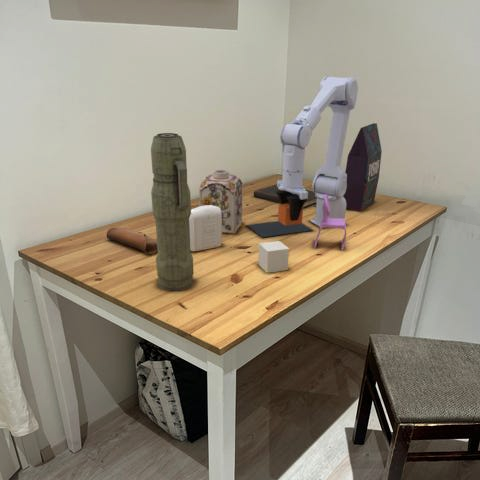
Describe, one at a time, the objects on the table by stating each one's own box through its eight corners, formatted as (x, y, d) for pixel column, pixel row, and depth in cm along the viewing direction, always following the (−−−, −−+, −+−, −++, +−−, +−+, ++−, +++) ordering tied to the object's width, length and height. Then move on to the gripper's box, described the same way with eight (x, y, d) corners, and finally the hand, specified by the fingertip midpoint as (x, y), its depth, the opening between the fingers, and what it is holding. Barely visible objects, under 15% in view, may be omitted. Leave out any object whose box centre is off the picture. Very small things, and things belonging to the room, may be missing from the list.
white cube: (278, 261, 134) (279, 240, 131) (287, 269, 129) (289, 248, 126) (258, 264, 132) (258, 243, 129) (266, 272, 127) (267, 251, 124)
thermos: (176, 296, 115) (168, 140, 97) (147, 280, 122) (134, 133, 104) (205, 285, 120) (201, 136, 103) (175, 271, 127) (167, 129, 110)
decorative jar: (208, 220, 164) (207, 165, 155) (242, 222, 162) (243, 167, 153) (199, 231, 154) (197, 174, 145) (235, 234, 152) (235, 176, 143)
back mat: (294, 220, 165) (294, 218, 165) (312, 231, 156) (312, 229, 156) (246, 226, 159) (246, 225, 159) (262, 238, 150) (262, 236, 149)
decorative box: (375, 201, 186) (387, 123, 172) (361, 212, 174) (373, 129, 160) (355, 198, 190) (365, 121, 176) (339, 208, 177) (349, 127, 164)
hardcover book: (278, 189, 200) (278, 183, 199) (325, 200, 187) (326, 194, 186) (253, 196, 190) (253, 191, 188) (301, 208, 176) (302, 202, 175)
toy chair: (344, 251, 141) (351, 200, 133) (314, 249, 142) (318, 198, 135) (344, 241, 148) (350, 192, 140) (315, 239, 149) (320, 190, 142)
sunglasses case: (168, 245, 142) (158, 229, 136) (154, 263, 139) (143, 247, 134) (128, 232, 151) (117, 216, 146) (114, 248, 149) (102, 233, 144)
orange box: (294, 218, 146) (295, 202, 143) (301, 223, 142) (303, 206, 140) (277, 220, 144) (278, 204, 141) (285, 225, 140) (286, 208, 138)
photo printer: (216, 242, 146) (216, 201, 140) (224, 246, 143) (223, 205, 137) (186, 248, 141) (184, 206, 135) (193, 253, 138) (191, 210, 132)
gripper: (268, 165, 140) (266, 211, 147) (293, 177, 128) (290, 226, 135) (290, 163, 142) (287, 209, 149) (316, 174, 131) (311, 223, 138)
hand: (290, 217), depth 142 cm, fingers closed on orange box, 4 cm apart
